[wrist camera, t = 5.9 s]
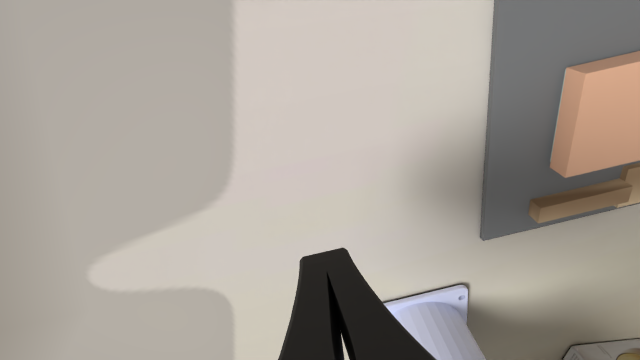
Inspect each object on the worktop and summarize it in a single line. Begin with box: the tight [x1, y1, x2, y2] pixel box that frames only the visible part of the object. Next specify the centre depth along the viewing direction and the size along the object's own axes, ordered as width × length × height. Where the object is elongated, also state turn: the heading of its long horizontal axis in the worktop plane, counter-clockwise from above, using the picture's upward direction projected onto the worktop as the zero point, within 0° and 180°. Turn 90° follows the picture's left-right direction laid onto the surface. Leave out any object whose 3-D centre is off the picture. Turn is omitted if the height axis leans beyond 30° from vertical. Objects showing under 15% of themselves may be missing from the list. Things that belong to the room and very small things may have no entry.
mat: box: [480, 0, 640, 241], centre depth 21 cm, size 16×14×1 cm
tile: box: [550, 51, 640, 178], centre depth 20 cm, size 6×2×6 cm
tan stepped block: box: [528, 163, 640, 223], centre depth 23 cm, size 3×10×1 cm, turn 101°
